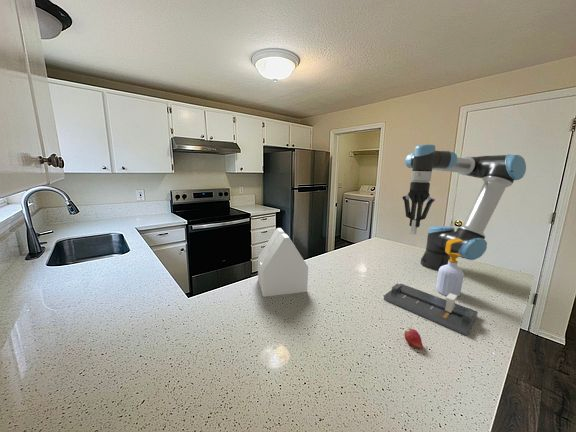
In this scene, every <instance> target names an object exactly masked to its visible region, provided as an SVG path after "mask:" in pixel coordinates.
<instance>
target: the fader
mask: <svg viewBox="0 0 576 432" xmlns="http://www.w3.org/2000/svg"><path fill="white" fill-rule="evenodd" d="M457 298H458V297H457V295H454V294H451V293H449V294H448V296H445V300H447V301H446V306H445V310H446V311H448V312H452V311H453V310H454V305H455V303H456V300H457Z"/></svg>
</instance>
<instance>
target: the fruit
mask: <svg viewBox="0 0 576 432" xmlns="http://www.w3.org/2000/svg"><path fill="white" fill-rule="evenodd" d="M403 335H404V339H405V340H406V342H407V343H408V344H409V345H410V346H412V347H414V348H415V349H417V348H418V349H419V350H420V349H422V348H424V345H423V341H422V337H421V335H420V333H419V332H418V331H417V330H416V329H414V328H407V329H406V330H405V331H404V334H403Z"/></svg>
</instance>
